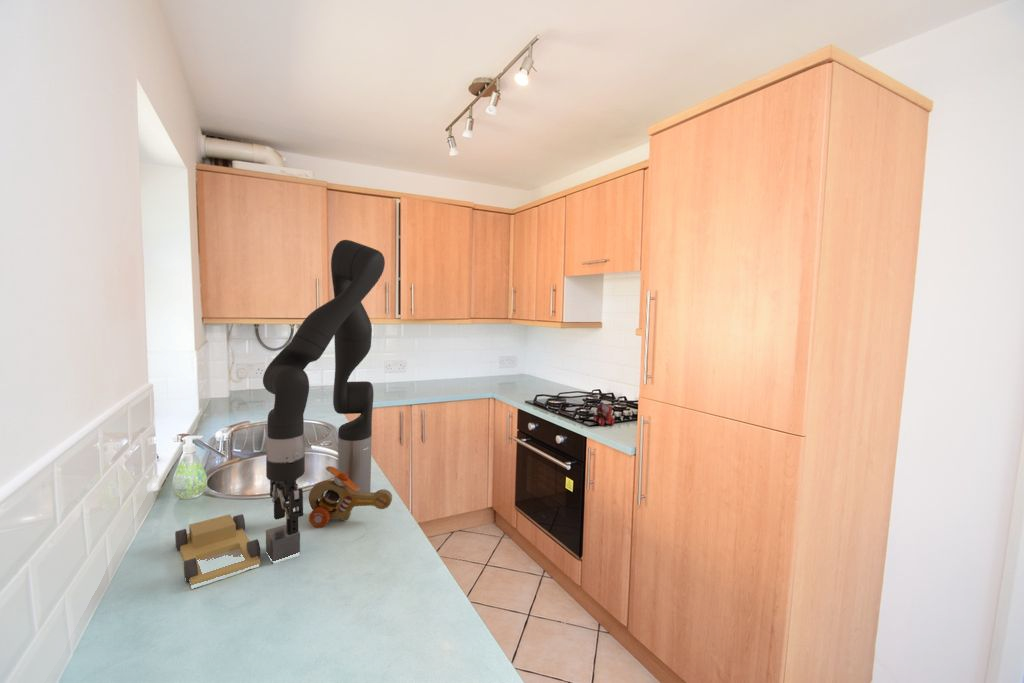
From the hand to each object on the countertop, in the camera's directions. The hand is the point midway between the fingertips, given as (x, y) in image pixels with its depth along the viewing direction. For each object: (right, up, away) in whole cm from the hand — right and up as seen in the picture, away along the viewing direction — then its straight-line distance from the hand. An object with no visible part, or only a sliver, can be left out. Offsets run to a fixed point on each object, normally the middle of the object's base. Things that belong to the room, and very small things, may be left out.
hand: (285, 525), depth 98 cm
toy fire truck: (+95, 0, +119) cm, 152 cm away
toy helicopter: (+7, -6, +17) cm, 19 cm away
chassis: (-15, -6, 0) cm, 17 cm away
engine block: (-1, -7, +1) cm, 7 cm away
